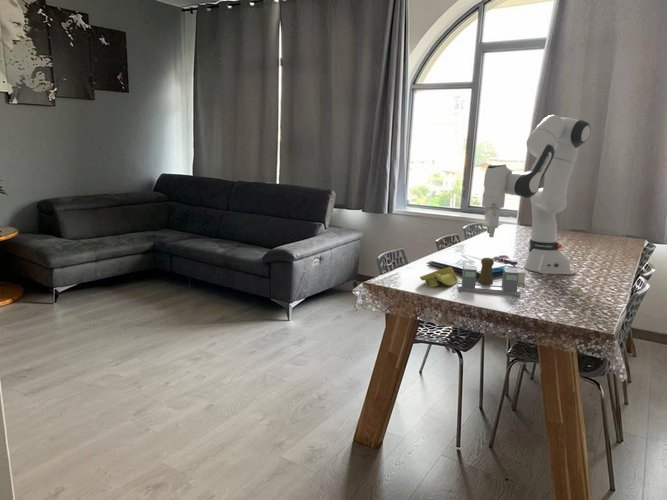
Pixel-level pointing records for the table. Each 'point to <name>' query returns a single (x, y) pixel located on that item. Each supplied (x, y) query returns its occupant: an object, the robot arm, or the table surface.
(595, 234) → the table surface
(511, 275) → the block
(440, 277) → the plastic component
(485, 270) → the cork
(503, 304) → the table surface
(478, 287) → the rail
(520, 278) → the beige block
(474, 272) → the block
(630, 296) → the table surface
